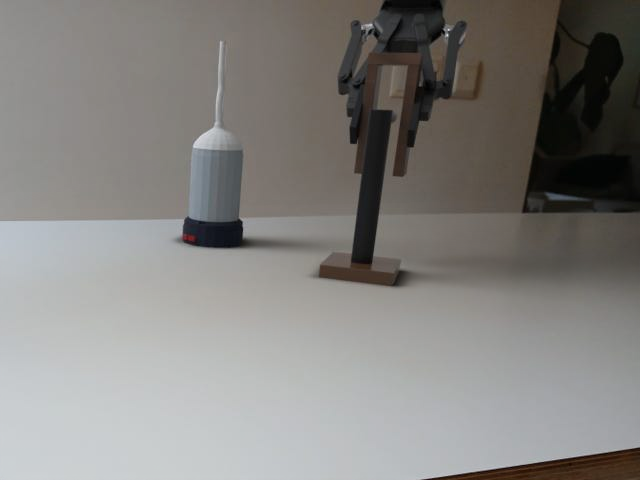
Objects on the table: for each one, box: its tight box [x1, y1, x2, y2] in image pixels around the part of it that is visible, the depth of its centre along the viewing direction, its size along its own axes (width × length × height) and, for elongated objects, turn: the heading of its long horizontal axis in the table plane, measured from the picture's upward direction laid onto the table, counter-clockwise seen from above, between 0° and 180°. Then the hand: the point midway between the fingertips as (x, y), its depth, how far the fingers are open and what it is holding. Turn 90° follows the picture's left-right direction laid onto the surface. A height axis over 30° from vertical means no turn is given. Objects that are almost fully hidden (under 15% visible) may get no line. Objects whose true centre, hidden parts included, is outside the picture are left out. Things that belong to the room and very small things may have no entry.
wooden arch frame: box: [353, 51, 424, 178], centre depth 86 cm, size 6×4×13 cm
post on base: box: [318, 108, 402, 287], centre depth 85 cm, size 8×14×18 cm, turn 157°
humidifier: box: [182, 40, 244, 249], centre depth 96 cm, size 8×8×25 cm
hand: (381, 137), depth 83 cm, fingers closed on wooden arch frame, 6 cm apart
